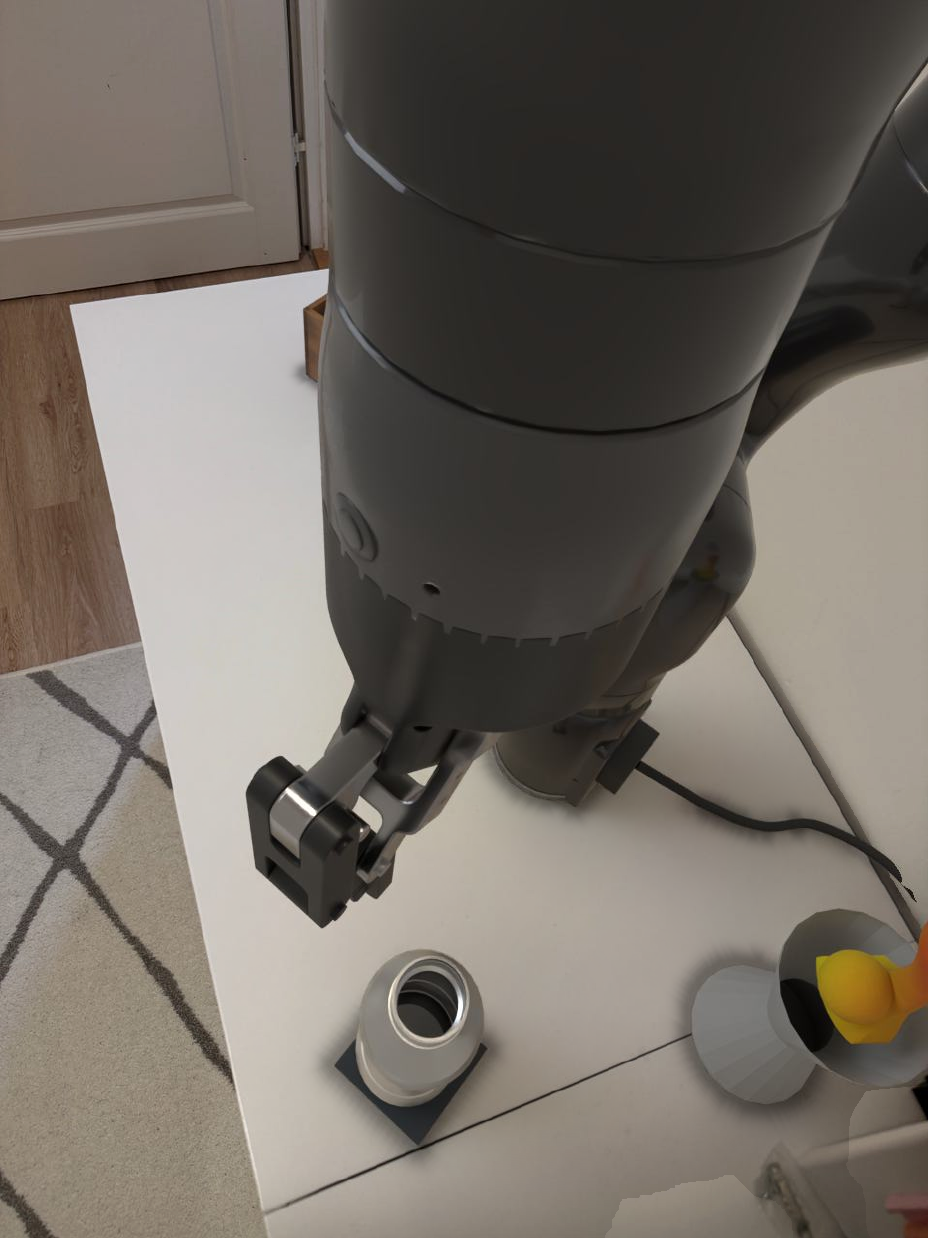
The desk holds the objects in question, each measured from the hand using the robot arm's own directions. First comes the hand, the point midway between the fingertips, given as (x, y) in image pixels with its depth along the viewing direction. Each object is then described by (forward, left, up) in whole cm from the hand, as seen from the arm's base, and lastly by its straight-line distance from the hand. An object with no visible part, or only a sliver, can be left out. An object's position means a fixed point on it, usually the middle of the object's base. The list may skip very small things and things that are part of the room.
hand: (442, 780), depth 31 cm
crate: (+39, -42, -34) cm, 67 cm away
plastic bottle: (-4, +3, -34) cm, 34 cm away
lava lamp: (-21, -13, -35) cm, 43 cm away
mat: (-4, +3, -34) cm, 35 cm away
